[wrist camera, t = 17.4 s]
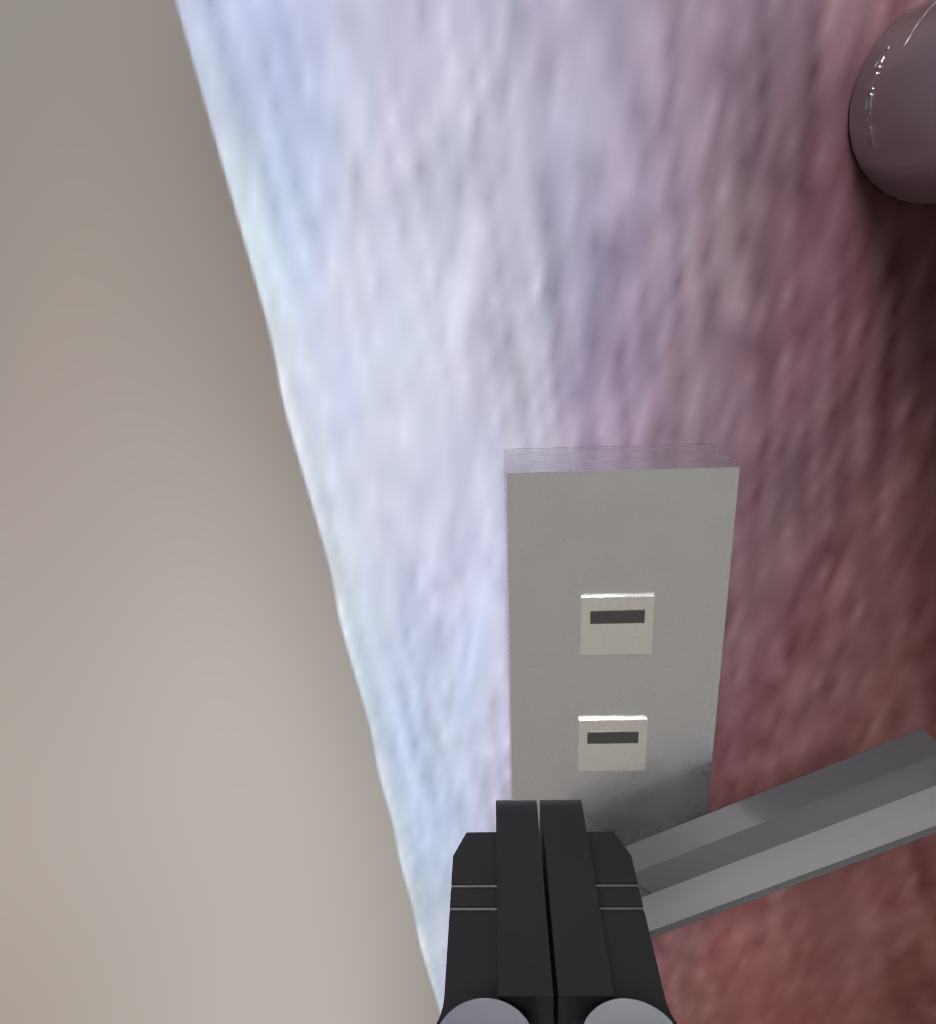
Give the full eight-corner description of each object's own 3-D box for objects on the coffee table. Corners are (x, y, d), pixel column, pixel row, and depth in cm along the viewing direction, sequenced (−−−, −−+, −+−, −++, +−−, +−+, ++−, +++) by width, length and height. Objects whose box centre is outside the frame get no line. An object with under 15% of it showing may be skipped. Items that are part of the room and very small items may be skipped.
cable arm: (950, 793, 41) (987, 835, 38) (593, 928, 45) (600, 976, 42) (923, 728, 40) (959, 767, 37) (557, 873, 44) (562, 918, 41)
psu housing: (711, 443, 42) (751, 476, 35) (680, 826, 51) (707, 907, 45) (504, 448, 42) (507, 482, 36) (511, 827, 52) (514, 907, 45)
